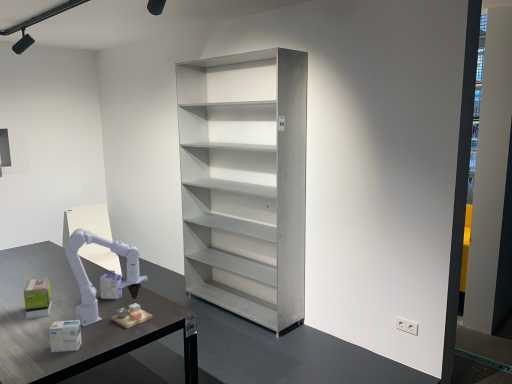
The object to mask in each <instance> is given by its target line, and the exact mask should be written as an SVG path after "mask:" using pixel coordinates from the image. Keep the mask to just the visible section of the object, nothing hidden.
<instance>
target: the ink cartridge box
mask: <svg viewBox="0 0 512 384" xmlns="http://www.w3.org/2000/svg"><path fill="white" fill-rule="evenodd" d="M115 273H116V270H108V272H107V273H104V274H102V275H101V276H100V277H99V280H100V299H105V300H107V299H109V300H119V299H120V298H122V297H123V288H122V289H121V288H119V284H120V283H122V282H123V281H122V274H115Z"/></svg>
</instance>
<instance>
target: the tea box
mask: <svg viewBox="0 0 512 384" xmlns="http://www.w3.org/2000/svg"><path fill="white" fill-rule="evenodd" d="M24 287H25V288H24V289H23V297H24V306H25V319H27V320H28V319H35V318H36V319H37V318H42V317H44V318H45V317H49V316H50V315H49V314H50V312H51V308H52V307H51V306H52V296H51V295H52V293H51V283H50V277H43V278H42V277H41V278H34V279H28V280H27V282H26V285H25V286H24Z"/></svg>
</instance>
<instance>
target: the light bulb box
mask: <svg viewBox="0 0 512 384" xmlns="http://www.w3.org/2000/svg"><path fill="white" fill-rule="evenodd" d="M48 329H49V341H50V342H49V343H50V352H51V353H59V352H73V351H78V350H79V349H80V347H81V345H82V332H81V331H82V327H81V325H80V320H76V319H73V320H63V321H62V320H60V321H56V320H55V321H53V323H52V324H51V325H50V327H49V328H48Z"/></svg>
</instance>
